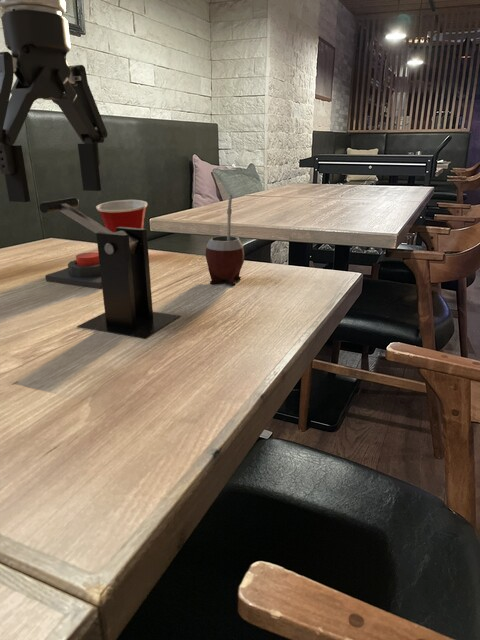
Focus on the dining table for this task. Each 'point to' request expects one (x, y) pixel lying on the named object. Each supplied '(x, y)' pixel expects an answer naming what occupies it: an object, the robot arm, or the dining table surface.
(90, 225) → the lever
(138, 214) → the plastic cup
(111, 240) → the bracket
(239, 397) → the dining table surface
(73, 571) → the dining table surface
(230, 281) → the mate gourd
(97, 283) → the button box
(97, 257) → the button
